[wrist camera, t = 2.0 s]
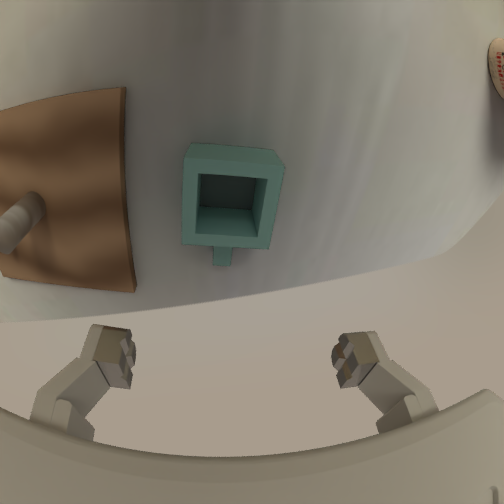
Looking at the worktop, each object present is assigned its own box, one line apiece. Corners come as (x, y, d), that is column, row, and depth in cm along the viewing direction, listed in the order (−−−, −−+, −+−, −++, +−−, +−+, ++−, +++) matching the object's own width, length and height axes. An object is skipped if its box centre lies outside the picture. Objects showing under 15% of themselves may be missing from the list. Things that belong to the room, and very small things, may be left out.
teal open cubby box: (191, 143, 20) (183, 158, 16) (273, 150, 21) (285, 166, 17) (187, 251, 26) (182, 282, 22) (255, 254, 27) (260, 286, 23)
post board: (-27, 120, 14) (-71, 142, 8) (125, 87, 17) (84, 92, 11) (7, 270, 25) (-18, 308, 19) (136, 285, 28) (121, 337, 22)
